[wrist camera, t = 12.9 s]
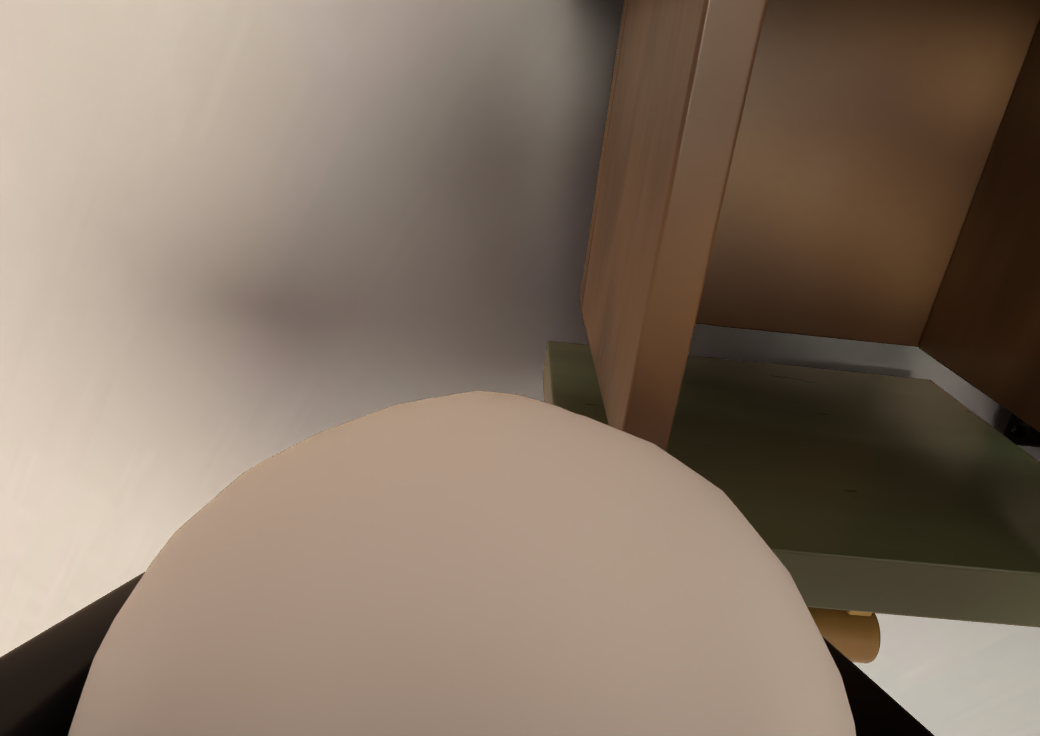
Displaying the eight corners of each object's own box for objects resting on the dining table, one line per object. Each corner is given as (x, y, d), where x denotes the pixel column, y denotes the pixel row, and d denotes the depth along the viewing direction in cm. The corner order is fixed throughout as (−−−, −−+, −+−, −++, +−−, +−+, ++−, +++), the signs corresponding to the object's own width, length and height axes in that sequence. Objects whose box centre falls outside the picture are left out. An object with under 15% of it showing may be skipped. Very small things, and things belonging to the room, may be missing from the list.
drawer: (868, 542, 22) (1064, 809, 14) (524, 510, 22) (525, 767, 14) (1126, -122, 15) (1836, -352, 7) (617, -190, 14) (734, -521, 6)
